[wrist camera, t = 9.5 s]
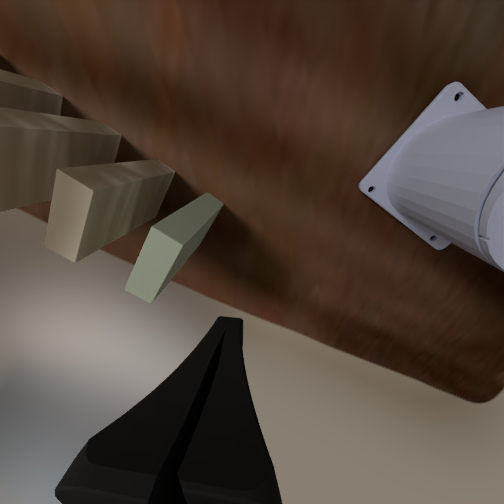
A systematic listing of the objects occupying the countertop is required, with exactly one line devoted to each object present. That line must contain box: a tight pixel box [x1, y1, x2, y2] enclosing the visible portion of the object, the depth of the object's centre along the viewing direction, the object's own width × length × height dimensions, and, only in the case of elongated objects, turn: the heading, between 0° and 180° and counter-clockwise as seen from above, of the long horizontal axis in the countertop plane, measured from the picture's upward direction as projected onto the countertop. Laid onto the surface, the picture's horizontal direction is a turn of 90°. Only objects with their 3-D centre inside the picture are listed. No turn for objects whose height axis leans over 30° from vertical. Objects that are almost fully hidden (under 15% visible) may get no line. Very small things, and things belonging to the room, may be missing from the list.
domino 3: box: [0, 107, 122, 211], centre depth 14 cm, size 2×5×9 cm, turn 146°
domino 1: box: [125, 192, 224, 304], centre depth 16 cm, size 2×5×9 cm, turn 146°
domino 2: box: [45, 159, 175, 263], centre depth 15 cm, size 2×5×9 cm, turn 146°
